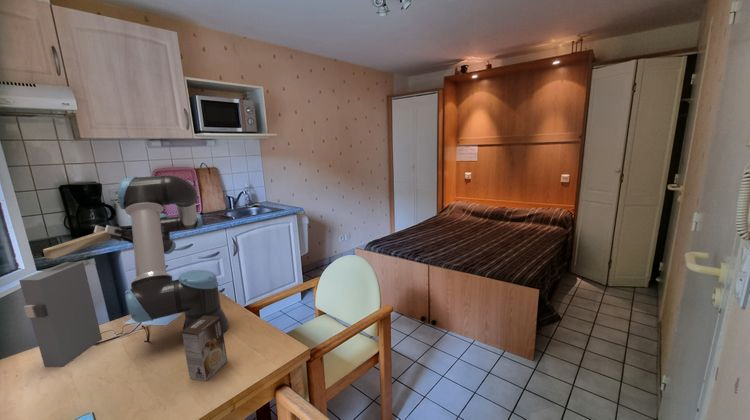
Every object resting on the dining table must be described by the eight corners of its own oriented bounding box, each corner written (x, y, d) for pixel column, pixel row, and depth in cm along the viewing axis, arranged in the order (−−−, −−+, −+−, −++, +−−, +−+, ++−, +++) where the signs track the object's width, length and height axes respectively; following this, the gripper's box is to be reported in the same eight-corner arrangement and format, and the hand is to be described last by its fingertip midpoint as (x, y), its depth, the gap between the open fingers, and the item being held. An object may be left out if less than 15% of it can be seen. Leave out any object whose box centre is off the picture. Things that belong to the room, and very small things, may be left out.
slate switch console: (102, 339, 111) (83, 261, 104) (59, 369, 96) (35, 281, 90) (85, 339, 111) (66, 262, 104) (41, 369, 96) (15, 281, 90)
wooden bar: (122, 234, 122) (120, 226, 121) (55, 259, 97) (52, 248, 96) (114, 234, 122) (112, 226, 121) (44, 259, 97) (42, 249, 96)
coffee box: (211, 358, 100) (204, 314, 97) (228, 360, 99) (221, 316, 95) (188, 378, 91) (180, 331, 88) (206, 382, 90) (199, 334, 86)
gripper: (163, 249, 136) (120, 238, 113) (126, 249, 136) (76, 238, 114) (166, 232, 138) (125, 218, 116) (130, 233, 138) (82, 219, 116)
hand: (101, 228), depth 115 cm, fingers closed on wooden bar, 3 cm apart
